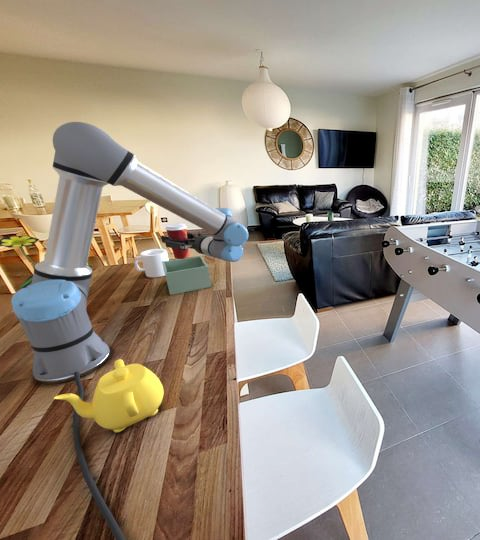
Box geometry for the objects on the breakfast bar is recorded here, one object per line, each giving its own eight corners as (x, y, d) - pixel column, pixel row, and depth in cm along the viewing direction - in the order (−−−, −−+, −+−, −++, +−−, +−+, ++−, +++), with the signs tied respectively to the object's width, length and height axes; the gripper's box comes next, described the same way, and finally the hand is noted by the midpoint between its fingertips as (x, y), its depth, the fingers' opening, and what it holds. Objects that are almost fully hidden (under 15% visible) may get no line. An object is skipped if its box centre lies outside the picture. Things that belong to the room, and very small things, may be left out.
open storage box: (211, 286, 127) (207, 266, 123) (170, 295, 118) (164, 273, 114) (204, 274, 138) (201, 255, 134) (166, 281, 129) (161, 261, 126)
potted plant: (30, 339, 88) (-14, 247, 77) (40, 313, 101) (3, 231, 90) (105, 321, 99) (77, 237, 87) (105, 300, 112) (80, 225, 101)
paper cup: (196, 256, 124) (190, 224, 119) (177, 261, 118) (170, 228, 113) (186, 252, 128) (180, 221, 122) (167, 257, 122) (160, 224, 116)
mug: (134, 279, 130) (128, 257, 126) (140, 270, 139) (135, 250, 135) (169, 275, 135) (164, 254, 131) (173, 268, 144) (168, 248, 140)
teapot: (122, 388, 72) (109, 350, 68) (180, 389, 73) (170, 352, 68) (72, 439, 59) (51, 396, 55) (142, 440, 60) (127, 398, 55)
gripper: (185, 262, 105) (148, 251, 114) (231, 248, 122) (196, 239, 131) (181, 243, 102) (144, 233, 111) (229, 231, 119) (193, 223, 128)
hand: (172, 236), depth 121 cm, fingers closed on paper cup, 8 cm apart
